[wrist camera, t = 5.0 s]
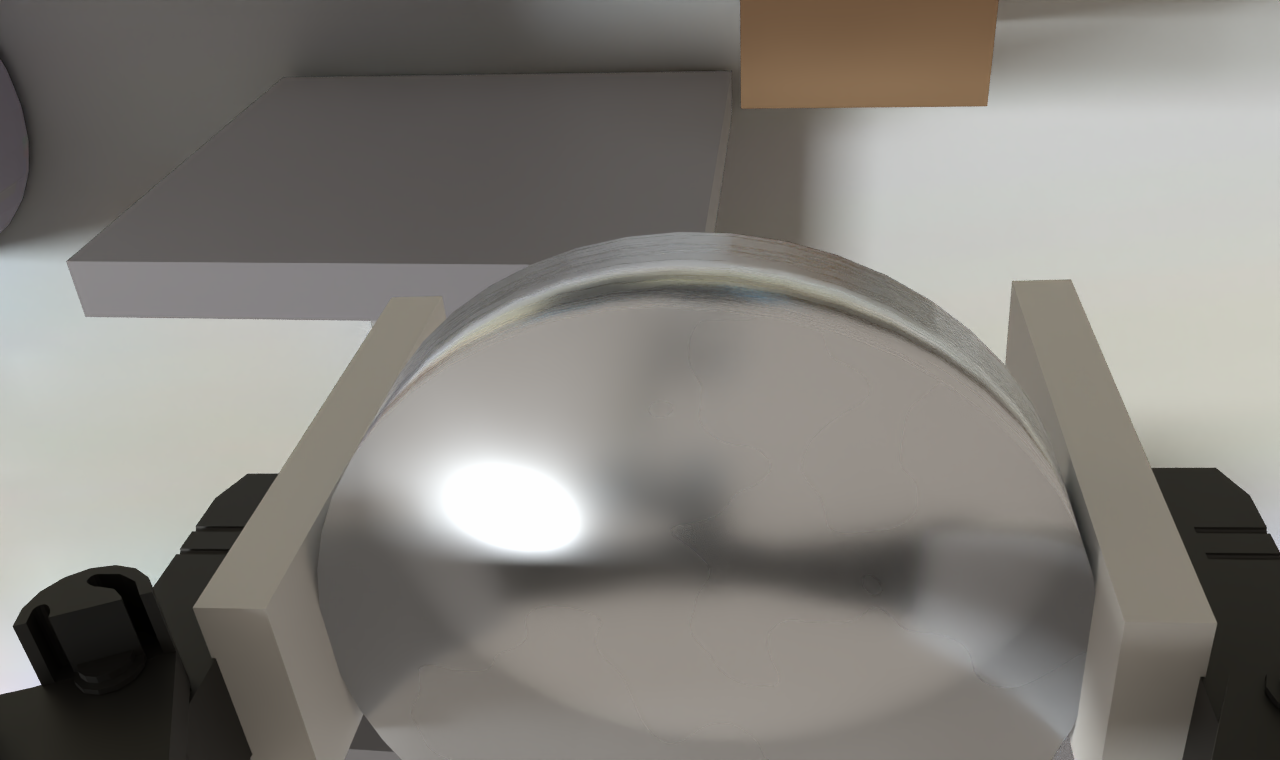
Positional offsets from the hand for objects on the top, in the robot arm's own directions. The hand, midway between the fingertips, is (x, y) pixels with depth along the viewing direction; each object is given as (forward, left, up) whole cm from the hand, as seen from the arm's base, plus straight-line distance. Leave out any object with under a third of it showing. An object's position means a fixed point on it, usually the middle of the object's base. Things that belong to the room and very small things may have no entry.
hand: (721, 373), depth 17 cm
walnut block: (-3, +2, -15) cm, 16 cm away
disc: (0, 0, +4) cm, 4 cm away
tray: (+8, -7, -15) cm, 18 cm away
